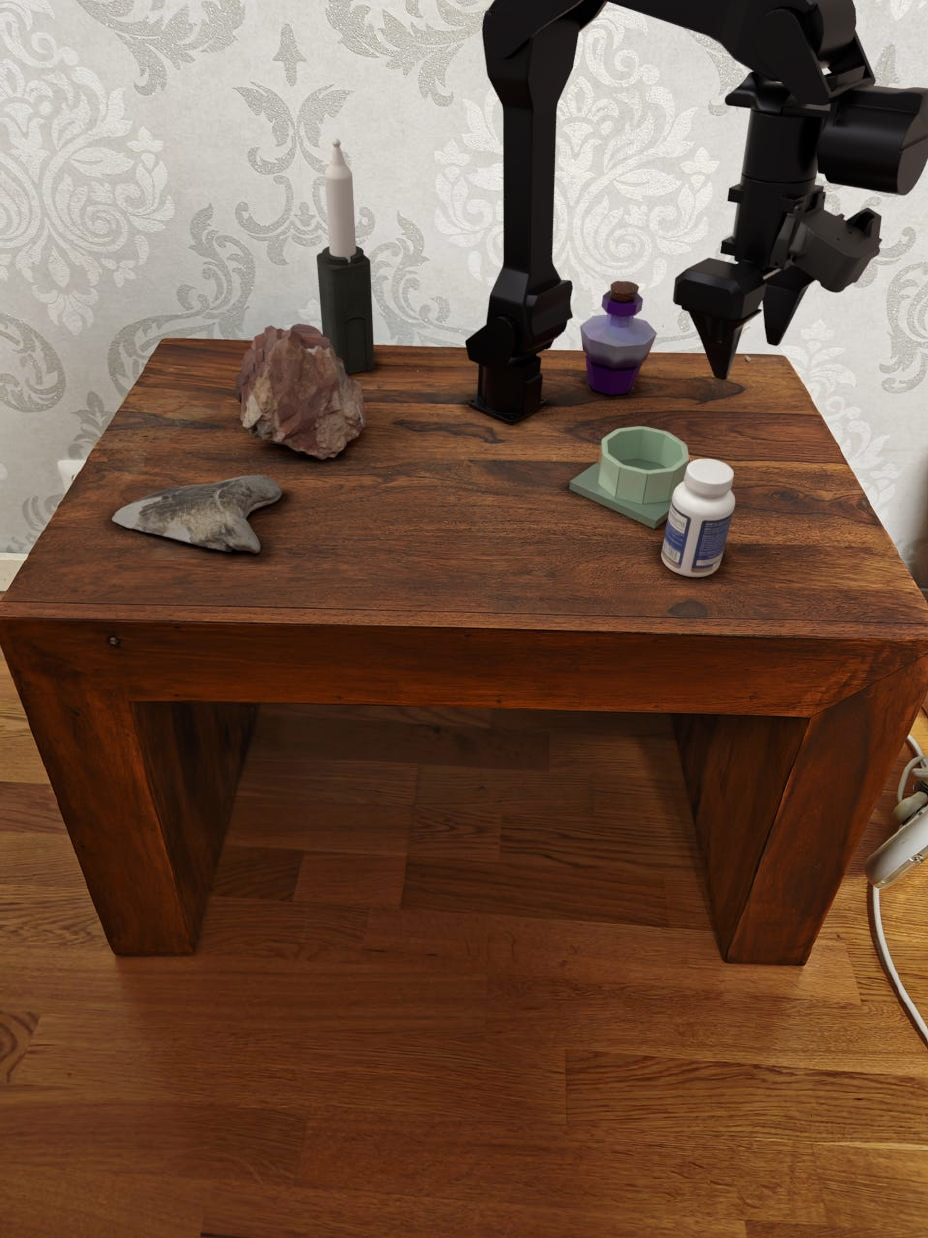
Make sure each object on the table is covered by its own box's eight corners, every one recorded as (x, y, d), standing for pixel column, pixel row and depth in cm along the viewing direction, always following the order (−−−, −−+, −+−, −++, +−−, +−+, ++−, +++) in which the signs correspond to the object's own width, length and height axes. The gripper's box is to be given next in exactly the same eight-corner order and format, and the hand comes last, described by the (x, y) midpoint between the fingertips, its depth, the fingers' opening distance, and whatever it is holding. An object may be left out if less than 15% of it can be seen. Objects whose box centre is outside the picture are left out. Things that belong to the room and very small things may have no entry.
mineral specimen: (280, 500, 102) (243, 397, 109) (391, 450, 102) (346, 349, 109) (236, 439, 92) (197, 329, 98) (359, 383, 92) (312, 276, 98)
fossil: (122, 457, 93) (274, 451, 92) (138, 493, 97) (285, 488, 95) (86, 538, 86) (251, 532, 84) (105, 574, 89) (264, 569, 88)
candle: (337, 377, 113) (321, 148, 96) (321, 359, 116) (303, 134, 100) (377, 368, 115) (369, 142, 98) (361, 351, 118) (349, 129, 101)
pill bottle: (723, 550, 90) (746, 460, 83) (715, 584, 86) (738, 493, 80) (665, 537, 91) (683, 448, 85) (655, 571, 87) (673, 480, 81)
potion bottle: (613, 361, 118) (626, 263, 110) (663, 390, 113) (681, 290, 105) (558, 379, 114) (568, 279, 106) (608, 410, 109) (622, 308, 101)
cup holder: (568, 489, 97) (573, 450, 94) (623, 450, 103) (629, 412, 100) (654, 529, 92) (662, 489, 89) (707, 485, 98) (715, 447, 95)
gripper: (820, 221, 67) (779, 426, 76) (928, 163, 77) (880, 350, 87) (680, 194, 72) (659, 387, 82) (798, 143, 83) (767, 320, 93)
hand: (747, 360), depth 86 cm, fingers open, 9 cm apart
